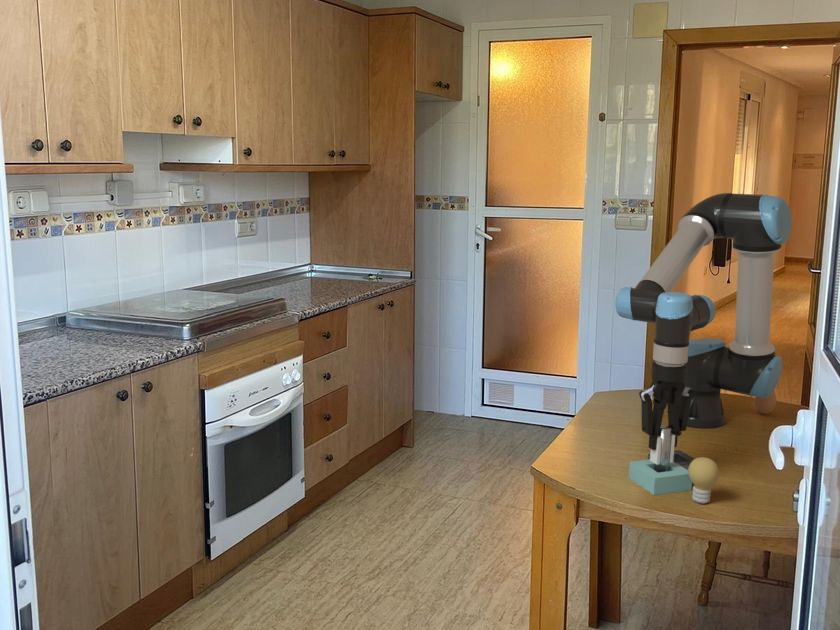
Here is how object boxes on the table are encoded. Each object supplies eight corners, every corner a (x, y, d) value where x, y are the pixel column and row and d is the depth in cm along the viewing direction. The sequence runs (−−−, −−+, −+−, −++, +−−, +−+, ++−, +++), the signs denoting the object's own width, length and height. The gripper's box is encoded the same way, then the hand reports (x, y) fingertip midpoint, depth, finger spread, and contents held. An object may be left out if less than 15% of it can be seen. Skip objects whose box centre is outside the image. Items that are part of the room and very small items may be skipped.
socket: (665, 473, 199) (666, 457, 198) (691, 489, 189) (692, 473, 189) (628, 478, 195) (629, 461, 195) (653, 495, 186) (654, 478, 185)
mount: (678, 459, 207) (679, 450, 207) (701, 473, 199) (702, 463, 199) (647, 463, 204) (648, 453, 204) (669, 477, 196) (670, 467, 196)
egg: (768, 410, 247) (771, 383, 245) (778, 416, 242) (782, 388, 240) (749, 410, 246) (752, 383, 245) (760, 417, 241) (763, 389, 239)
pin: (661, 477, 194) (666, 424, 192) (669, 482, 191) (674, 428, 189) (649, 479, 193) (654, 425, 190) (658, 484, 190) (662, 430, 188)
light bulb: (684, 504, 182) (688, 461, 180) (686, 493, 187) (690, 451, 185) (715, 509, 179) (719, 465, 177) (716, 498, 185) (720, 455, 183)
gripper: (689, 355, 192) (680, 452, 197) (629, 360, 187) (622, 459, 192) (710, 364, 185) (701, 463, 190) (648, 369, 180) (640, 471, 185)
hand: (661, 461), depth 191 cm, fingers closed on pin, 3 cm apart
